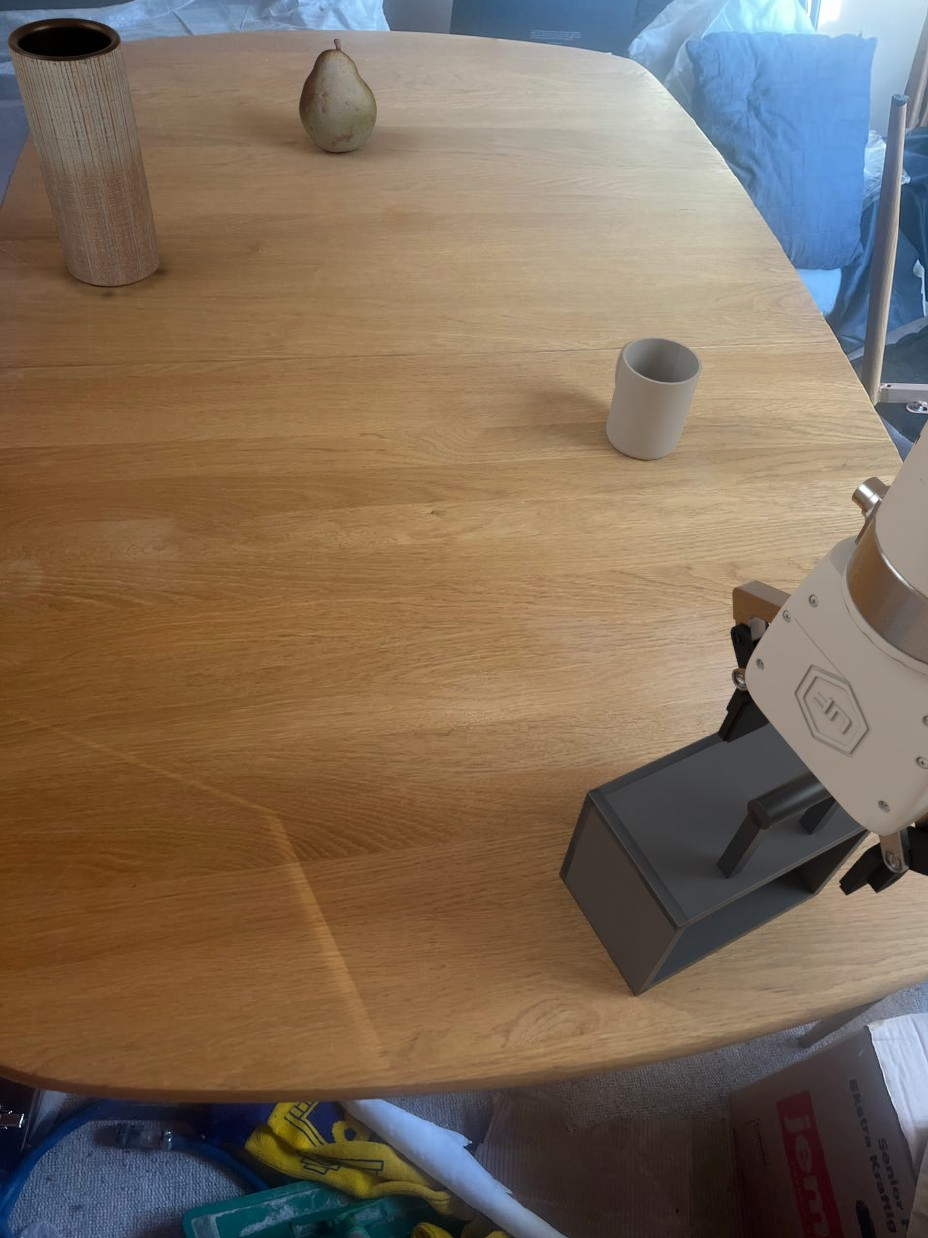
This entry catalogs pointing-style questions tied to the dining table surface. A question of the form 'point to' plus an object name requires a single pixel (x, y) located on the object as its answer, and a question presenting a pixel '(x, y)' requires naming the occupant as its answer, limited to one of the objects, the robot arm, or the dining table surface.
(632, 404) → the cup
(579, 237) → the dining table surface
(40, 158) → the planter
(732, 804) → the grey tool caddy
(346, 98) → the fruit
